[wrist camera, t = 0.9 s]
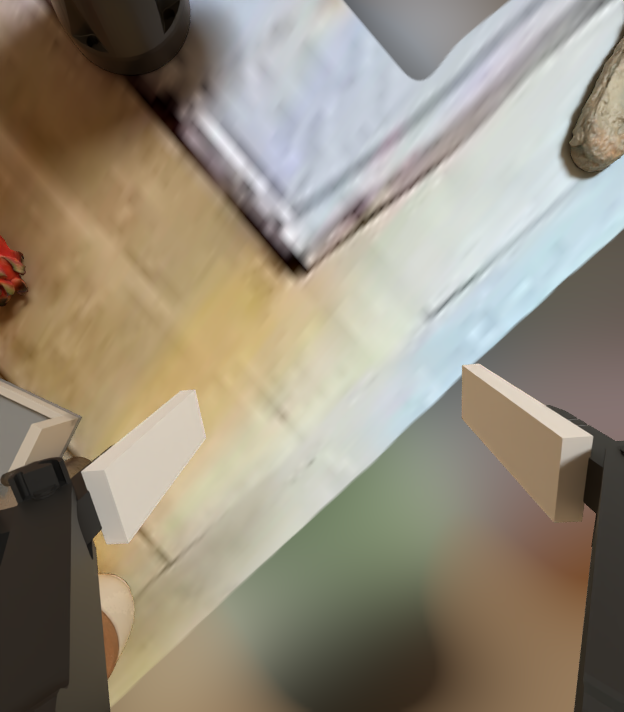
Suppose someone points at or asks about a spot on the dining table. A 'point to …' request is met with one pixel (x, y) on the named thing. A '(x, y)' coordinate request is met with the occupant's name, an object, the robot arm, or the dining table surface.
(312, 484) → the dining table surface
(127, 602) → the lidded jar
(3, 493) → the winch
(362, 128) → the dining table surface
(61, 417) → the bay
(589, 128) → the elongated rock
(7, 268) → the dragon fruit
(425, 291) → the dining table surface
